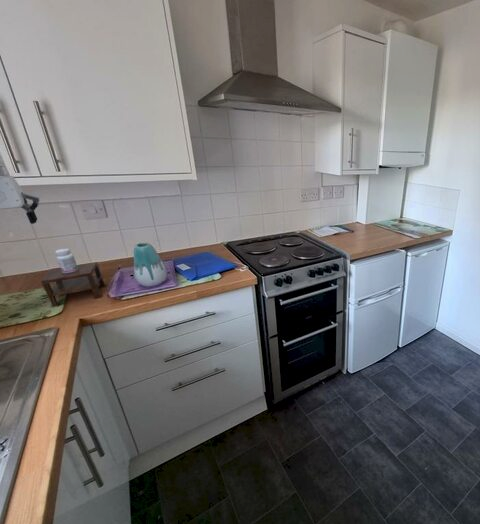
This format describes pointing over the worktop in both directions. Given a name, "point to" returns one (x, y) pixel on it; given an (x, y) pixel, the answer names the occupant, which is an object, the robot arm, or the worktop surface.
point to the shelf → (73, 281)
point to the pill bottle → (66, 261)
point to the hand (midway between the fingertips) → (14, 224)
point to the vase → (148, 266)
